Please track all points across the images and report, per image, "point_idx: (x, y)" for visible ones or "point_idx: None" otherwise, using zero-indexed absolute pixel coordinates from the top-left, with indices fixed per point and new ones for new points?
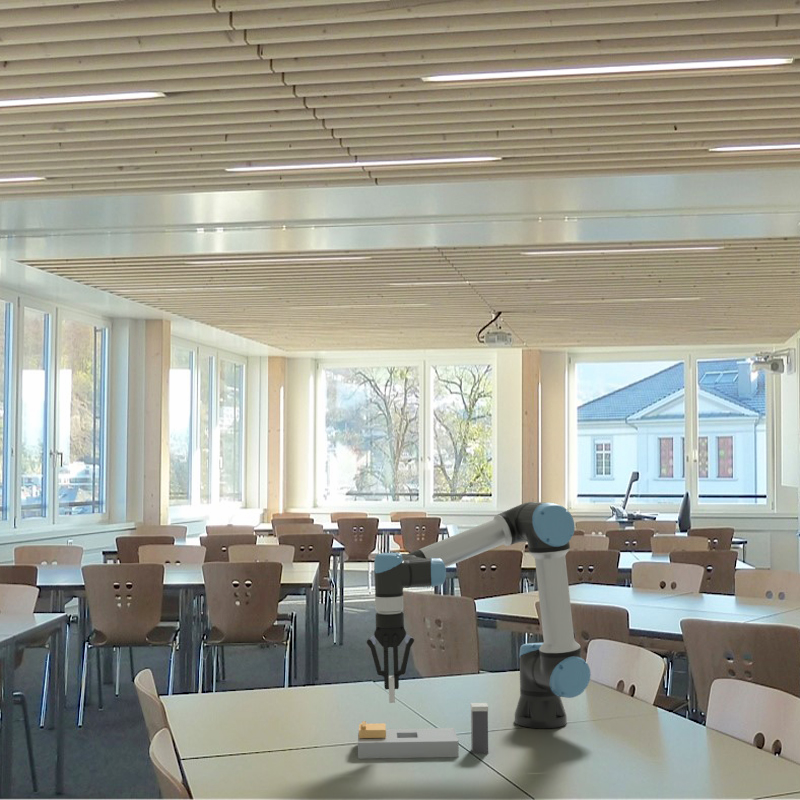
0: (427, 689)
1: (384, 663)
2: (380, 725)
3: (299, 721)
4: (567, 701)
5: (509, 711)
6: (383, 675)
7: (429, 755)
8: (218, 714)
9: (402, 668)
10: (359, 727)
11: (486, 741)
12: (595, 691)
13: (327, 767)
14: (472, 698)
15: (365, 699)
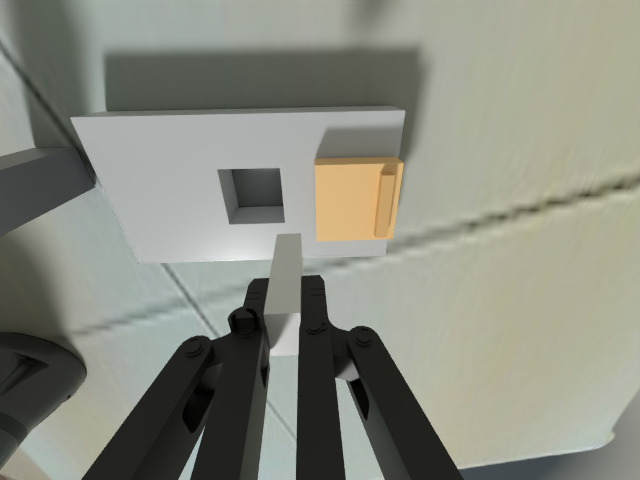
0: (263, 471)
1: (333, 413)
2: (331, 220)
3: (460, 367)
4: (47, 443)
5: (118, 409)
6: (333, 332)
7: (186, 110)
8: (571, 393)
9: (186, 374)
10: (397, 198)
11: (5, 156)
12: (29, 471)
13: (496, 6)
14: (194, 449)
15: (345, 443)
